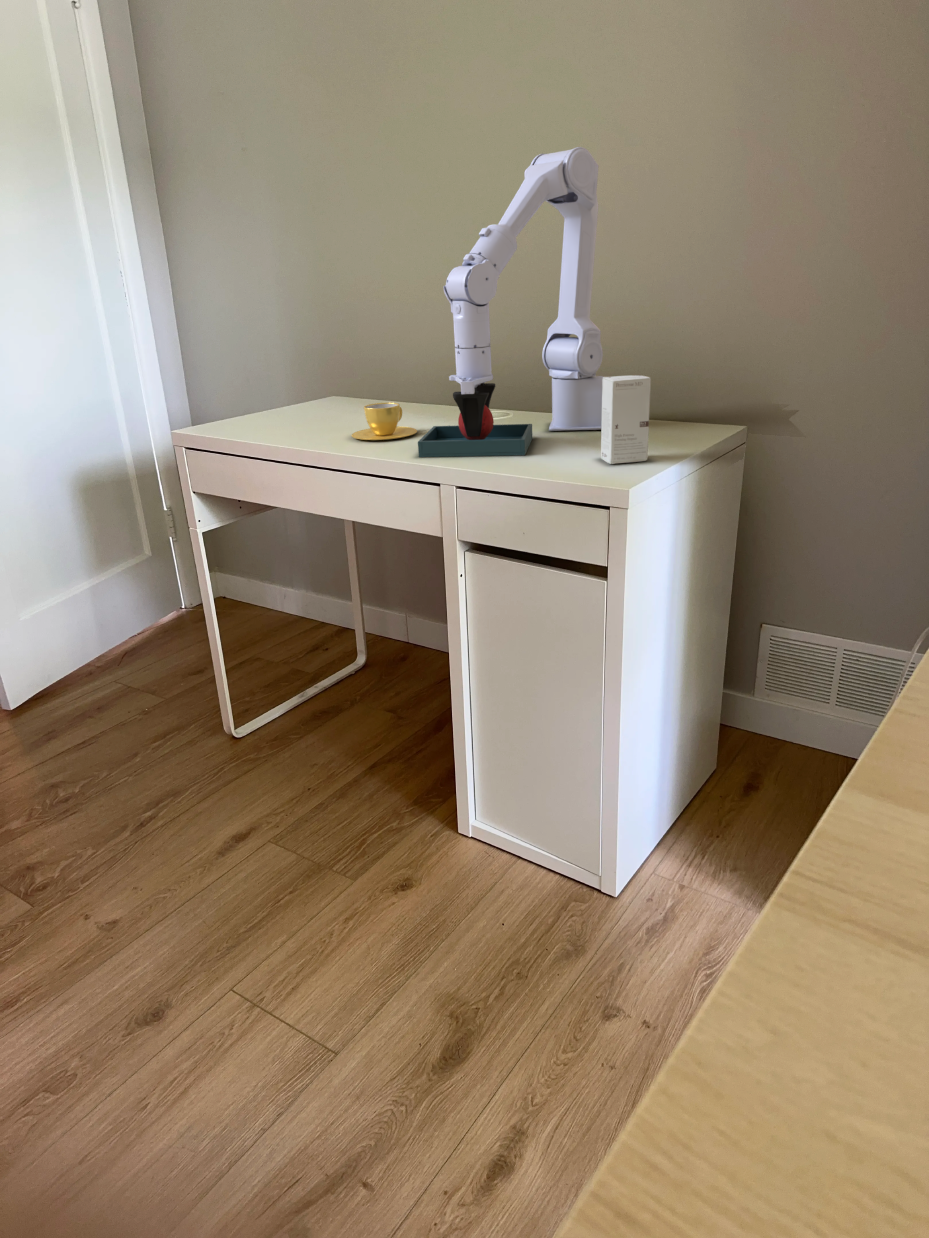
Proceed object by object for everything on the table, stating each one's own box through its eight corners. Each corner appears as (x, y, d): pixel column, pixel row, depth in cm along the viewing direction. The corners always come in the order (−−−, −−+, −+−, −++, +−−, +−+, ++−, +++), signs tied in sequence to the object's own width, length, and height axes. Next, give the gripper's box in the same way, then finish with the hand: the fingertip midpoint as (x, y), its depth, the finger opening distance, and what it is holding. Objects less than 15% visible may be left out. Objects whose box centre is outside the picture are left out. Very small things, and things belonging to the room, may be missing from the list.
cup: (387, 444, 148) (384, 413, 146) (338, 439, 155) (334, 409, 153) (430, 431, 157) (428, 401, 155) (382, 427, 164) (379, 398, 161)
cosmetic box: (610, 465, 125) (611, 380, 120) (599, 459, 129) (600, 377, 124) (649, 461, 126) (652, 377, 122) (637, 455, 130) (639, 373, 126)
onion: (490, 448, 138) (488, 398, 135) (456, 448, 140) (453, 398, 136) (496, 440, 144) (495, 392, 140) (463, 441, 145) (460, 393, 142)
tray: (532, 438, 146) (532, 423, 145) (525, 455, 134) (524, 439, 133) (434, 440, 149) (433, 426, 148) (418, 457, 137) (417, 441, 136)
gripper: (455, 343, 143) (460, 424, 148) (439, 352, 130) (444, 441, 135) (497, 341, 142) (500, 423, 147) (485, 351, 128) (489, 440, 134)
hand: (476, 432), depth 141 cm, fingers closed on onion, 6 cm apart
